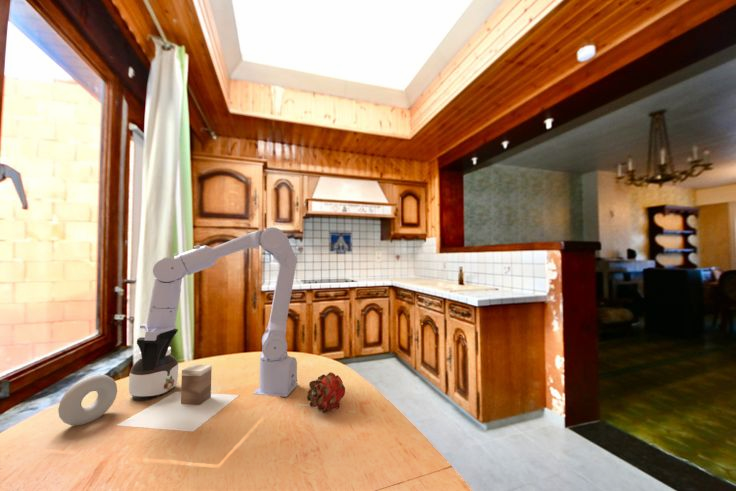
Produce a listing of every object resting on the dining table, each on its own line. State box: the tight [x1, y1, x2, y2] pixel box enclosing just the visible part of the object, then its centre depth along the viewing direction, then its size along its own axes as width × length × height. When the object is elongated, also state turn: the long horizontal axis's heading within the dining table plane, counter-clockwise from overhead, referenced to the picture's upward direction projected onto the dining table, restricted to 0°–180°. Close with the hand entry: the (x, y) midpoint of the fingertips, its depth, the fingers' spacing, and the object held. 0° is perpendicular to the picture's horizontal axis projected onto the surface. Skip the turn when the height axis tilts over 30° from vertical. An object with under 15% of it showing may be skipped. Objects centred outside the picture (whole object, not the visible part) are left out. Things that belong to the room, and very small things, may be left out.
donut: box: [57, 374, 118, 426], centre depth 63 cm, size 10×4×10 cm, turn 161°
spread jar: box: [128, 346, 179, 401], centre depth 77 cm, size 12×11×12 cm
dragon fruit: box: [306, 372, 346, 413], centre depth 69 cm, size 8×8×12 cm
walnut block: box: [180, 364, 213, 405], centre depth 71 cm, size 5×4×8 cm
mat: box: [115, 391, 240, 433], centre depth 67 cm, size 18×16×1 cm
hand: (154, 364), depth 68 cm, fingers open, 7 cm apart
